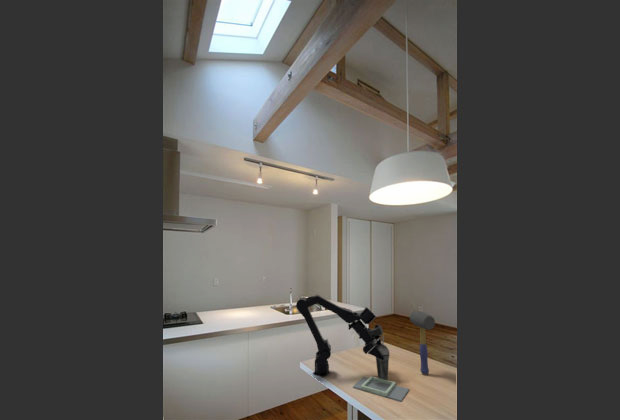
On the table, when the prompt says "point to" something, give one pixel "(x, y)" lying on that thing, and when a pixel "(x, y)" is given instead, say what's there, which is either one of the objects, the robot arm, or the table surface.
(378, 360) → the beverage cup
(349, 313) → the robot arm
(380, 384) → the socket board
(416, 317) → the rubber mallet
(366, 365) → the table surface
